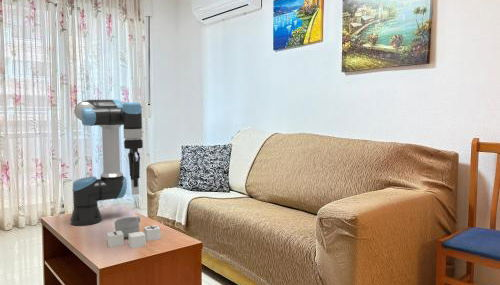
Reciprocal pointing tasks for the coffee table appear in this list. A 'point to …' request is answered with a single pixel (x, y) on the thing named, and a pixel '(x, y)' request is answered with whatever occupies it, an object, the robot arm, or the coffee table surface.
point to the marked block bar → (115, 239)
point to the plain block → (137, 239)
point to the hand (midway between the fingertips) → (135, 194)
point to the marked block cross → (152, 233)
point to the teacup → (127, 225)
